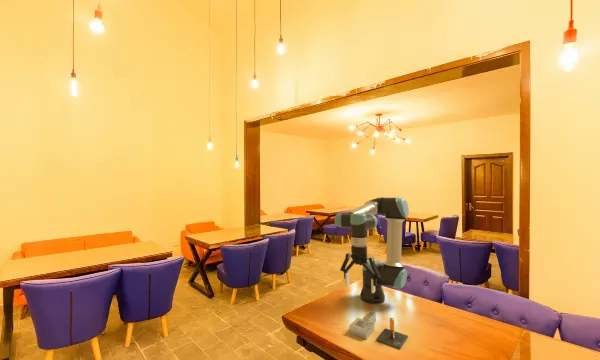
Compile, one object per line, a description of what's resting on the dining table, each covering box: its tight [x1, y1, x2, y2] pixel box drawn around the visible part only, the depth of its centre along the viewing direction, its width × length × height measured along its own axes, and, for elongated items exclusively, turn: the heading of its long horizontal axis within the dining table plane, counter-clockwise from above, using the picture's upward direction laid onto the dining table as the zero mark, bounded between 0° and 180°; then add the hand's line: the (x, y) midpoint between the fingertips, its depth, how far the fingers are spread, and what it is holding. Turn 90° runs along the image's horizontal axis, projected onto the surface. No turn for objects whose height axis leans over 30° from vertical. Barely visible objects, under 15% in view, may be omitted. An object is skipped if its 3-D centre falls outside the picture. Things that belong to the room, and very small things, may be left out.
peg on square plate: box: [375, 317, 409, 350], centre depth 128 cm, size 11×11×10 cm
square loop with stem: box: [349, 310, 377, 340], centre depth 138 cm, size 18×9×5 cm, turn 141°
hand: (360, 288), depth 132 cm, fingers open, 13 cm apart
